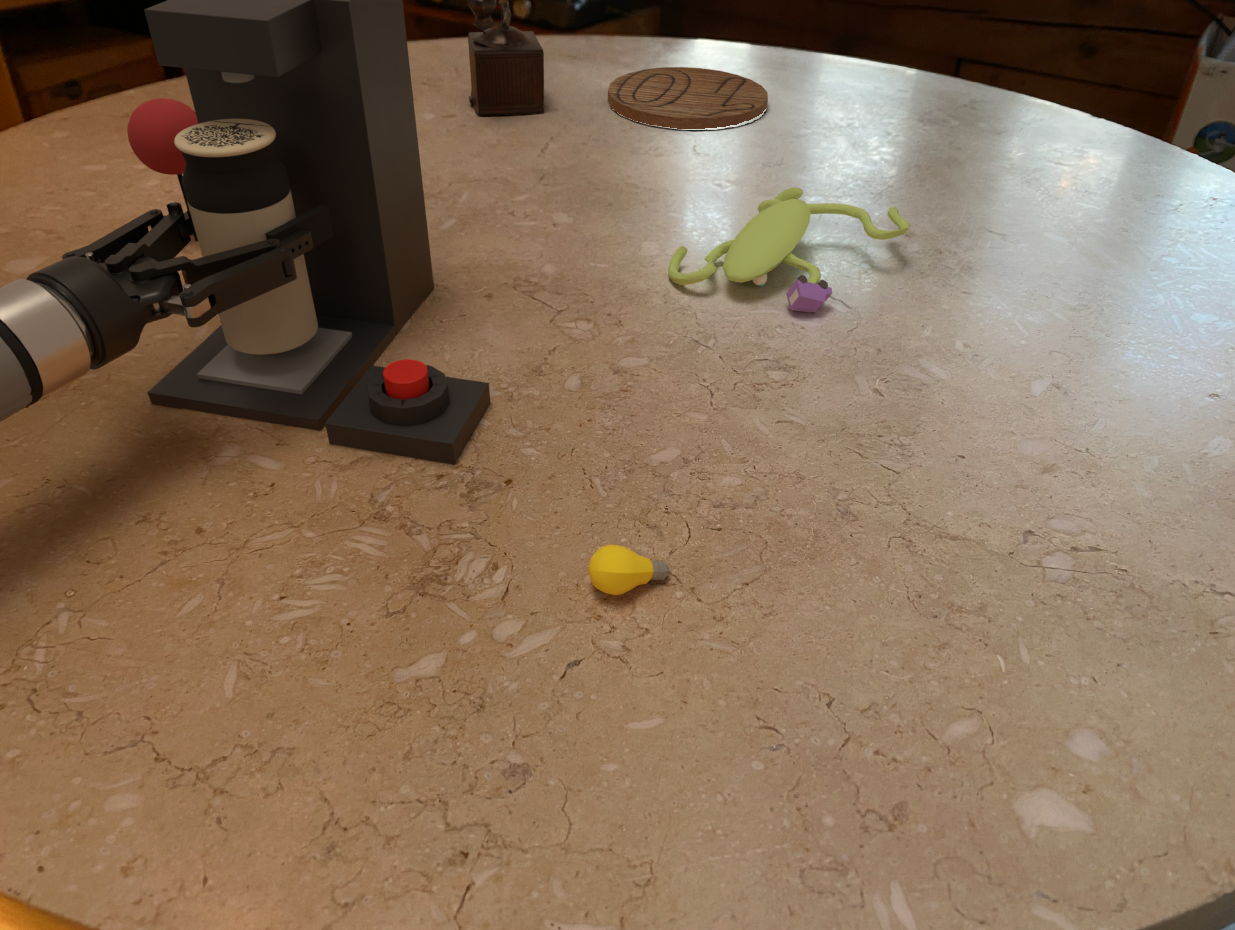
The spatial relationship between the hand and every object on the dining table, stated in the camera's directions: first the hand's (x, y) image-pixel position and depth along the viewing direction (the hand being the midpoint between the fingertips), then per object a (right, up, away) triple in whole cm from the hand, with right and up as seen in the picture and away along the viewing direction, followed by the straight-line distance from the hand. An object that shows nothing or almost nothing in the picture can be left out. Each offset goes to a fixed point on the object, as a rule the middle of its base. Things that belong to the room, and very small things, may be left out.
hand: (288, 210), depth 81 cm
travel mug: (-2, -11, +3) cm, 11 cm away
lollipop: (-20, +4, +26) cm, 33 cm away
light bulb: (+29, -31, -15) cm, 45 cm away
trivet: (+39, +35, +66) cm, 85 cm away
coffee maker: (-1, -10, +9) cm, 14 cm away
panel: (+11, -19, -1) cm, 22 cm away
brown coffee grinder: (+12, +32, +62) cm, 71 cm away
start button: (+11, -16, -3) cm, 20 cm away
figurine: (+48, 0, +24) cm, 54 cm away
